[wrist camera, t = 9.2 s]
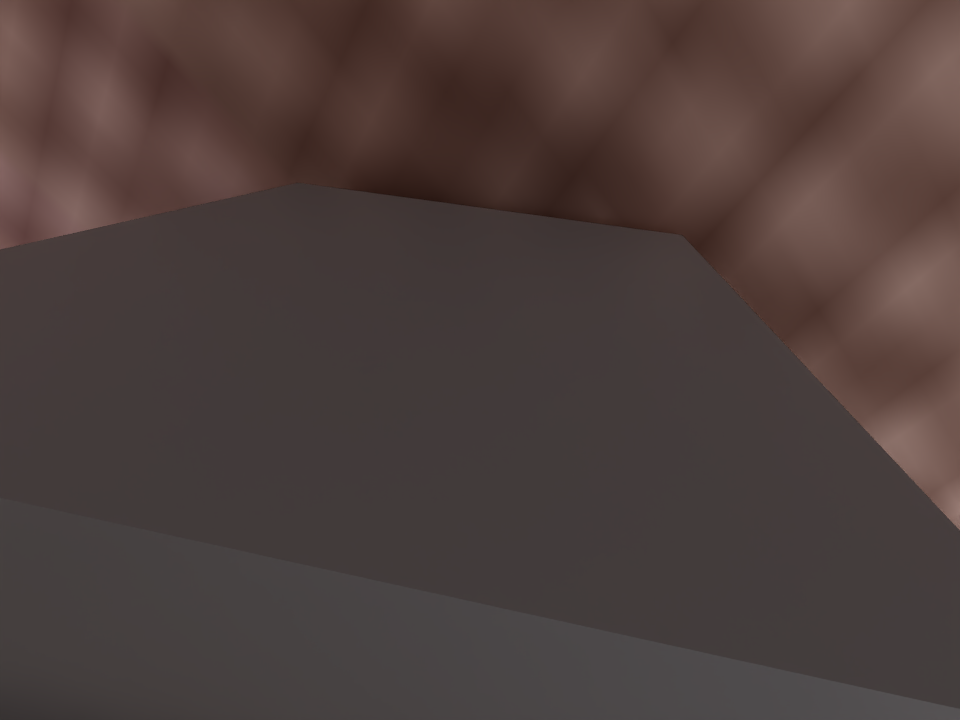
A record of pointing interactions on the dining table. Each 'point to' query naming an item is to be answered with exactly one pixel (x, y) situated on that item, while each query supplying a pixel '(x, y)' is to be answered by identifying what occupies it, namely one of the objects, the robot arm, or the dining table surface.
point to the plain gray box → (439, 481)
